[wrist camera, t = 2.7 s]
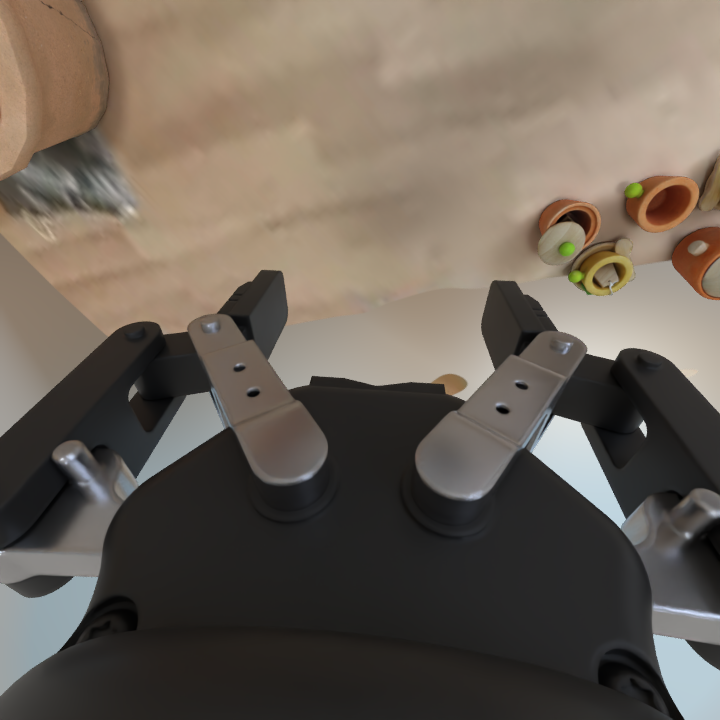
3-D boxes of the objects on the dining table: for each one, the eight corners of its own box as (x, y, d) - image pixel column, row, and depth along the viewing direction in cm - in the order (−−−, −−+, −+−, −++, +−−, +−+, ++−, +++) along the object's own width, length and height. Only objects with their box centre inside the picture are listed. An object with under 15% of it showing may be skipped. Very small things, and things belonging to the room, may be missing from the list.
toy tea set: (799, 125, 35) (909, 134, 28) (741, 267, 44) (813, 303, 37) (527, 190, 41) (556, 212, 33) (524, 304, 50) (546, 342, 42)
